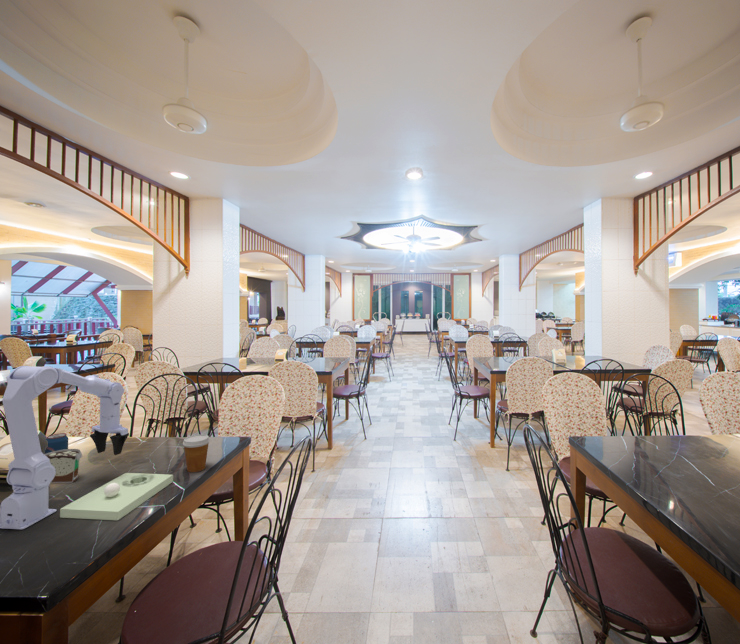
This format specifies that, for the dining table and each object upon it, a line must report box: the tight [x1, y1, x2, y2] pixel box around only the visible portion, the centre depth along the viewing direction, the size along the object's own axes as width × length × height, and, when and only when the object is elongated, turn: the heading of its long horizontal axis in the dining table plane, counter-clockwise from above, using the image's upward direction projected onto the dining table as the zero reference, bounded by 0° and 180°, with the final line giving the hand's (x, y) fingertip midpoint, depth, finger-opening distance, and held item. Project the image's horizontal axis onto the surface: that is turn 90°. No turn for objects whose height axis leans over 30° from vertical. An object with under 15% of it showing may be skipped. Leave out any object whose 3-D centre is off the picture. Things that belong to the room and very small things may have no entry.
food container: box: [43, 448, 83, 484], centre depth 123 cm, size 12×6×10 cm, turn 92°
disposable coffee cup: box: [182, 434, 211, 473], centre depth 132 cm, size 10×10×12 cm
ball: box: [104, 483, 120, 497], centre depth 106 cm, size 4×4×4 cm
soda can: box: [43, 432, 69, 454], centre depth 134 cm, size 7×7×12 cm
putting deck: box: [59, 472, 174, 521], centre depth 110 cm, size 24×18×2 cm
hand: (109, 453), depth 122 cm, fingers open, 7 cm apart
